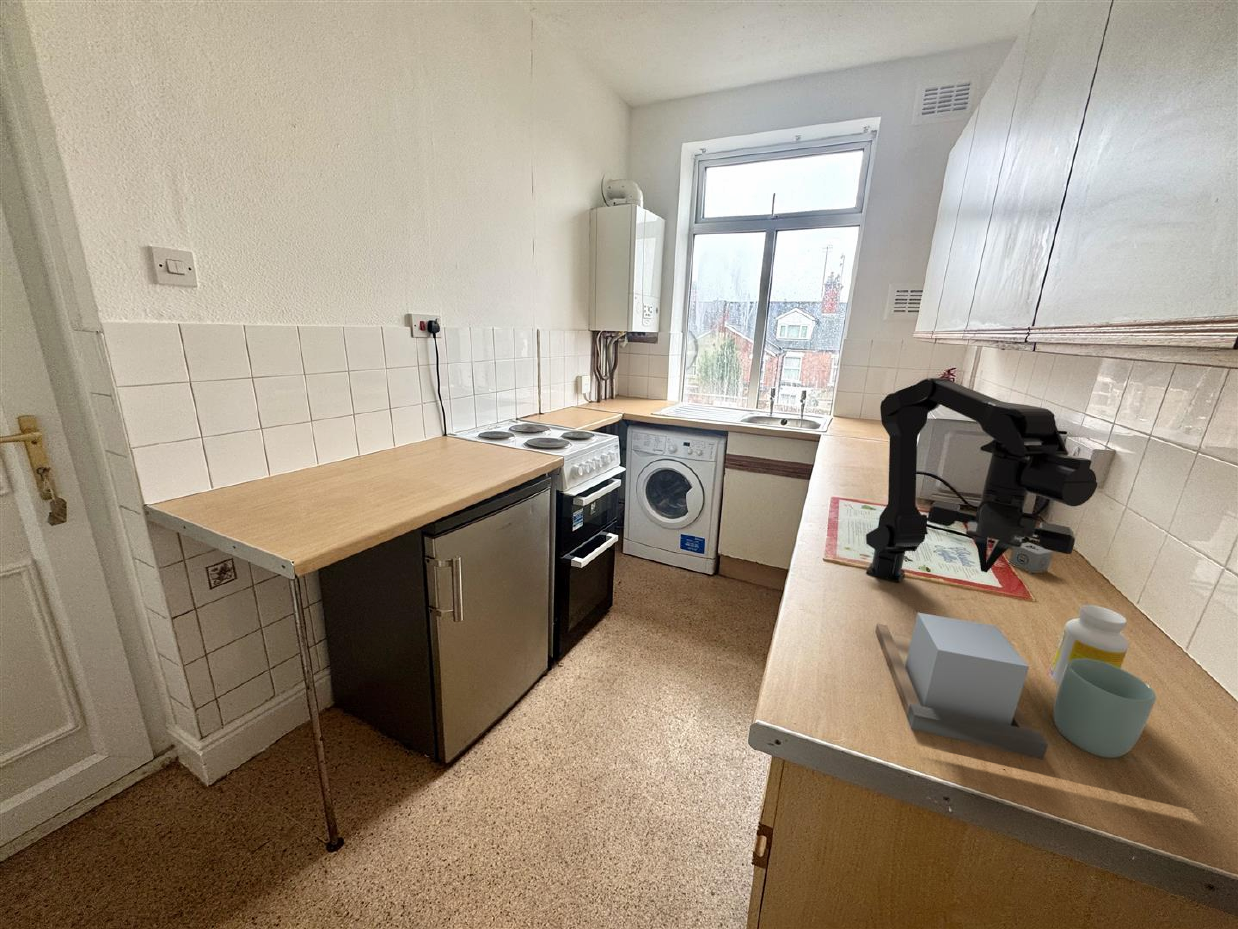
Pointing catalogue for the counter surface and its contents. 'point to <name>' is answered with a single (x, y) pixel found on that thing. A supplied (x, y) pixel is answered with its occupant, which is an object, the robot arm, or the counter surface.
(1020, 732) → the chute
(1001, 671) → the block
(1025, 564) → the dice cube
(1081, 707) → the cup
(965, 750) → the counter surface
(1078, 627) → the supplement bottle
